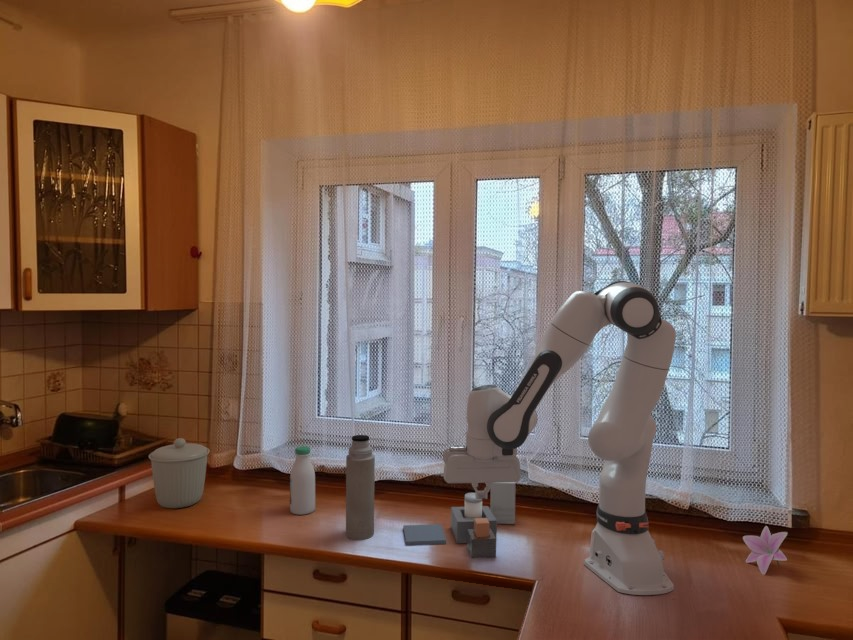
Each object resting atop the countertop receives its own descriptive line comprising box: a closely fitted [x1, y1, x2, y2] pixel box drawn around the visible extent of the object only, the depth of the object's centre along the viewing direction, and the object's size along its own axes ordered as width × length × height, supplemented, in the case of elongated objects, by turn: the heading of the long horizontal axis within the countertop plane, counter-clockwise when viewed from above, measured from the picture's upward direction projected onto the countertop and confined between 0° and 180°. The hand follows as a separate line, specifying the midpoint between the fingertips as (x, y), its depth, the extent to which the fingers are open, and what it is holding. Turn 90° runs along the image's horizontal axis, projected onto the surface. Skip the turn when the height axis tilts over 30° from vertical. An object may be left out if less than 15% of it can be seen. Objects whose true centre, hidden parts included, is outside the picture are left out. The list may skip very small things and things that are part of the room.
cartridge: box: [464, 492, 483, 518], centre depth 161 cm, size 5×5×11 cm
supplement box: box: [489, 482, 516, 525], centre depth 172 cm, size 7×7×13 cm
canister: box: [148, 437, 211, 509], centre depth 182 cm, size 18×18×21 cm
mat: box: [402, 523, 447, 546], centre depth 159 cm, size 11×11×1 cm
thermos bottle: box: [345, 434, 376, 541], centre depth 160 cm, size 8×8×28 cm
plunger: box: [474, 518, 490, 537], centre depth 149 cm, size 3×3×6 cm
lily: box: [742, 525, 788, 576], centre depth 144 cm, size 12×12×10 cm
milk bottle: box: [289, 445, 316, 516], centre depth 177 cm, size 8×8×20 cm
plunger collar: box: [466, 529, 497, 559], centre depth 150 cm, size 6×6×5 cm
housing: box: [450, 505, 498, 544], centre depth 161 cm, size 11×11×6 cm
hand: (481, 498), depth 149 cm, fingers closed
